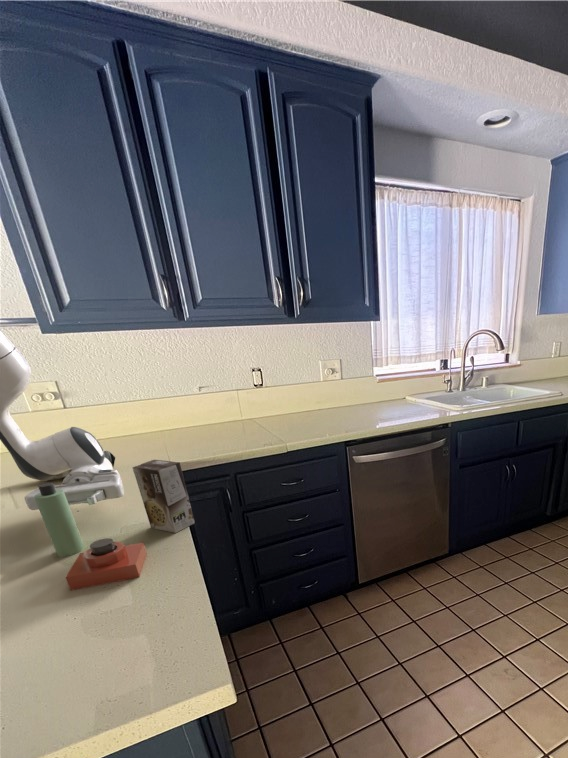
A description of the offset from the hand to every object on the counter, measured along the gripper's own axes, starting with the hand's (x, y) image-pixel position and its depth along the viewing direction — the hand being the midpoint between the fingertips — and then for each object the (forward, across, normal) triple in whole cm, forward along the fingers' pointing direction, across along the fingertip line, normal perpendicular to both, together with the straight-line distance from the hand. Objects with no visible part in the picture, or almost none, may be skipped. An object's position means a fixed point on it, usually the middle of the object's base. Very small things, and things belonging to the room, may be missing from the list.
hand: (67, 504), depth 99 cm
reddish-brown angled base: (+21, +11, +9) cm, 25 cm away
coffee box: (+2, +21, +9) cm, 23 cm away
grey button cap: (+21, +11, +4) cm, 24 cm away
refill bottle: (+7, 0, +9) cm, 11 cm away
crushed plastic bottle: (-57, -15, +9) cm, 60 cm away
